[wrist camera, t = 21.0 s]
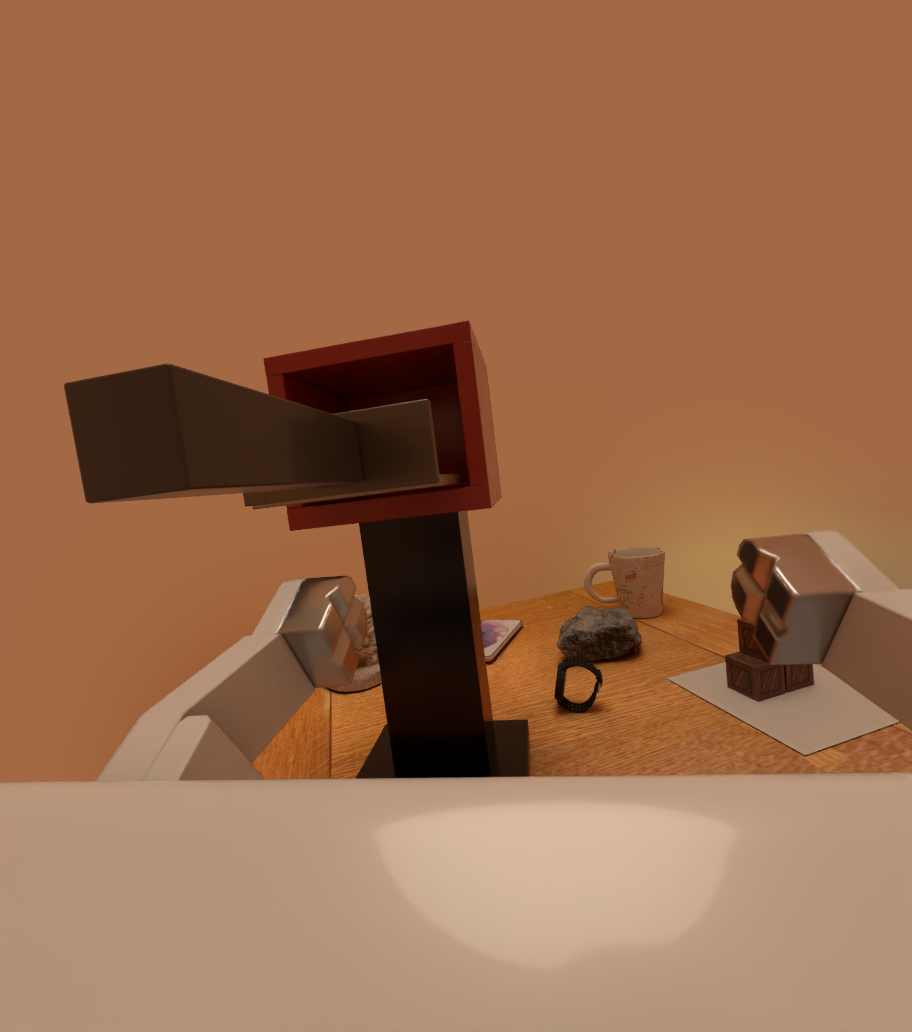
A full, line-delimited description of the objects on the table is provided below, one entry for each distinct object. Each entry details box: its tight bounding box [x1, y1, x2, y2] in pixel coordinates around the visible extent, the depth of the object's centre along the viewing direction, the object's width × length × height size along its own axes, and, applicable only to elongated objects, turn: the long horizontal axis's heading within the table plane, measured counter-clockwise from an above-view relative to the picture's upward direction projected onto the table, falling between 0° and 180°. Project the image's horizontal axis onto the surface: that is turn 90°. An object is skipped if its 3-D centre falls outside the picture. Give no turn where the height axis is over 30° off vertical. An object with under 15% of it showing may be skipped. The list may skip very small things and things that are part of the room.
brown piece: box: [64, 363, 465, 509], centre depth 21 cm, size 21×10×4 cm, turn 171°
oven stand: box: [264, 320, 530, 779], centre depth 35 cm, size 12×14×34 cm
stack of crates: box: [667, 618, 899, 755], centre depth 43 cm, size 15×15×7 cm
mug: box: [584, 547, 665, 618], centre depth 71 cm, size 8×13×10 cm, turn 73°
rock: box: [557, 606, 642, 661], centre depth 57 cm, size 12×10×5 cm
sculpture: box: [328, 595, 382, 692], centre depth 63 cm, size 12×17×10 cm
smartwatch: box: [555, 658, 603, 712], centre depth 44 cm, size 4×5×5 cm
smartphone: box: [481, 620, 523, 662], centre depth 66 cm, size 7×1×15 cm
